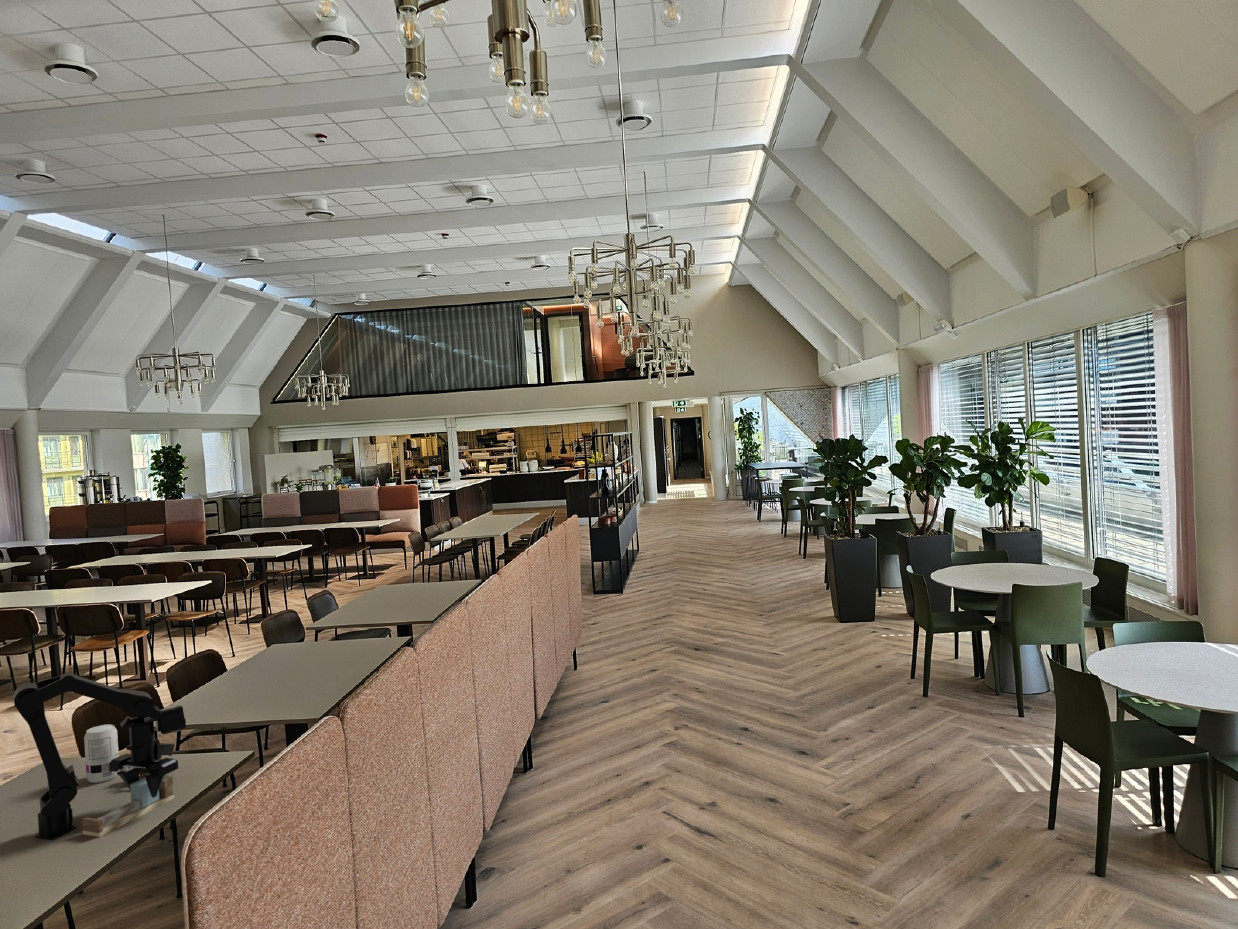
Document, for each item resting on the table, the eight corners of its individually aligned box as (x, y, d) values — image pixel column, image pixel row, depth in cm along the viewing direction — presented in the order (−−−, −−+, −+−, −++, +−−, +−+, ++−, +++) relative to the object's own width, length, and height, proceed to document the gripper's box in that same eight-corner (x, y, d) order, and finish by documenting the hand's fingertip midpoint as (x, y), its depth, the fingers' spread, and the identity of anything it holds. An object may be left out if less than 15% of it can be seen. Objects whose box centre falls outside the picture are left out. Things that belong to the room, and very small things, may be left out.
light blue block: (143, 807, 207) (142, 785, 207) (131, 806, 208) (130, 784, 208) (159, 799, 212) (158, 778, 212) (147, 798, 213) (146, 776, 213)
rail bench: (100, 837, 194) (98, 813, 194) (82, 834, 196) (81, 810, 196) (175, 797, 216) (174, 775, 216) (159, 795, 218) (158, 773, 218)
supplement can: (79, 782, 229) (77, 732, 228) (105, 771, 237) (103, 722, 236) (100, 785, 226) (97, 734, 226) (126, 773, 234) (123, 724, 234)
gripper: (193, 731, 215) (196, 786, 215) (142, 726, 220) (145, 780, 221) (158, 746, 204) (161, 804, 204) (106, 741, 210) (109, 797, 210)
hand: (145, 795), depth 210 cm, fingers open, 6 cm apart
